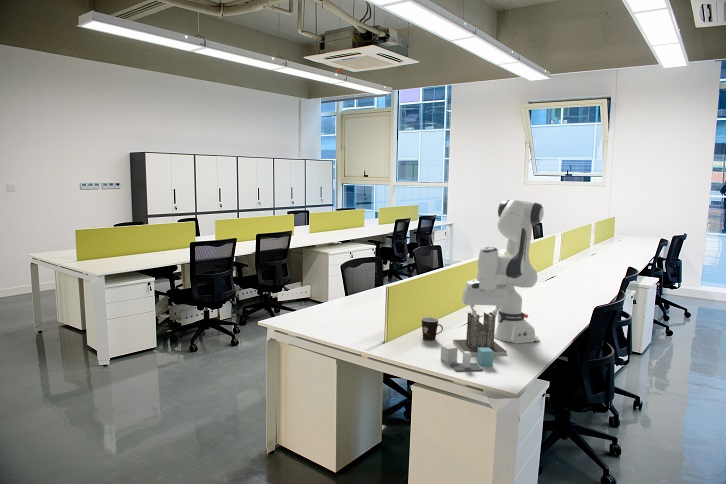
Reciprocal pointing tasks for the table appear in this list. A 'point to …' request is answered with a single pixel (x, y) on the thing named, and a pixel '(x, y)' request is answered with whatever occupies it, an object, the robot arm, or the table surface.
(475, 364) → the stand
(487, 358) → the teal block
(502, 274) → the robot arm
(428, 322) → the coffee mug
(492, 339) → the building model
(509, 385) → the table surface
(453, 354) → the light grey block
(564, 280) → the table surface
